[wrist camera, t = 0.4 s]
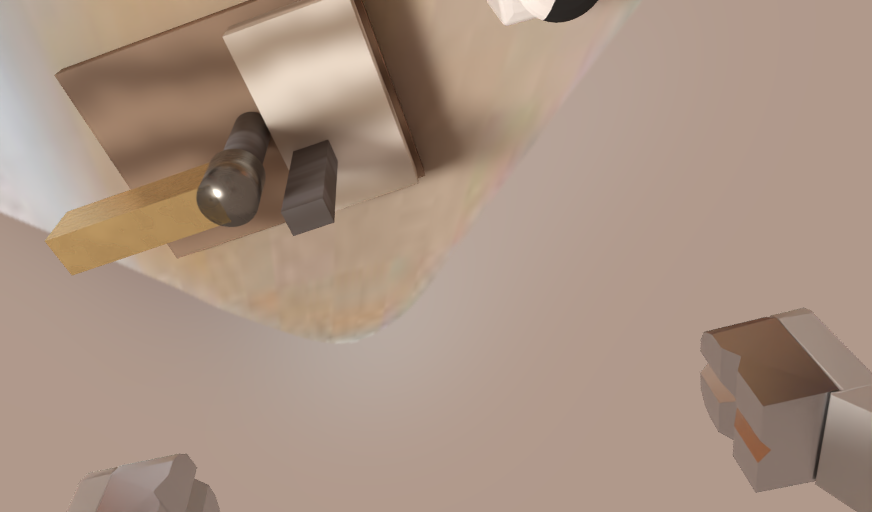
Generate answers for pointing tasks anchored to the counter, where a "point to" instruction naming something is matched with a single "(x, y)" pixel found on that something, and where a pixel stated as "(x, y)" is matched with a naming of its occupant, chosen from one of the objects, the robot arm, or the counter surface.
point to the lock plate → (256, 109)
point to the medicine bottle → (539, 10)
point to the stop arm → (161, 212)
